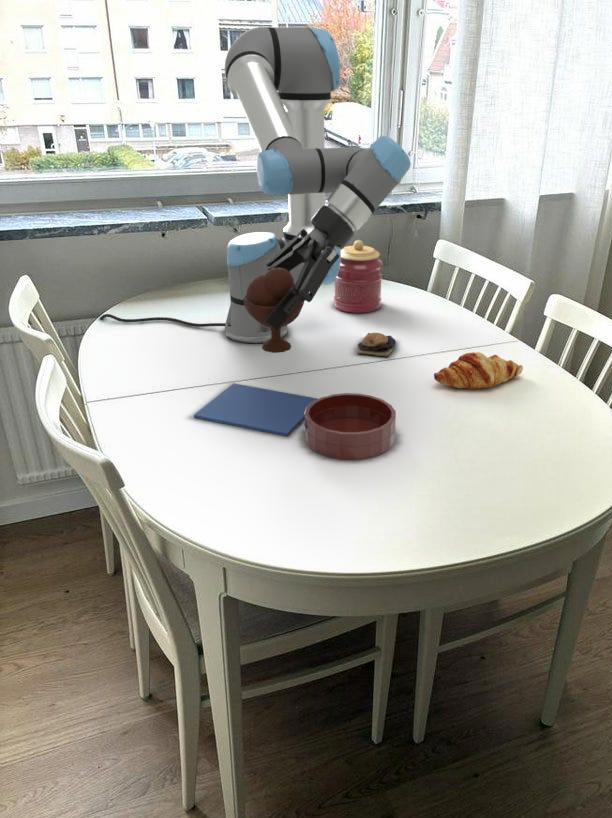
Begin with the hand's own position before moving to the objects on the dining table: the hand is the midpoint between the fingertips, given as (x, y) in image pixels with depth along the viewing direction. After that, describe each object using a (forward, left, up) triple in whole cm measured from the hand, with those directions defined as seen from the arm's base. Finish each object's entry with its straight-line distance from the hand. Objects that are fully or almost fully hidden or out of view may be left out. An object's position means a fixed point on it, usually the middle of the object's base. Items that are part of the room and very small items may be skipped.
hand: (260, 314), depth 131 cm
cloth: (-3, +3, -21) cm, 21 cm away
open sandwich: (+8, +43, -21) cm, 48 cm away
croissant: (+35, +33, -21) cm, 52 cm away
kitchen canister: (-7, +70, -21) cm, 73 cm away
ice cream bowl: (+2, +2, -7) cm, 7 cm away
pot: (+18, -1, -21) cm, 28 cm away
